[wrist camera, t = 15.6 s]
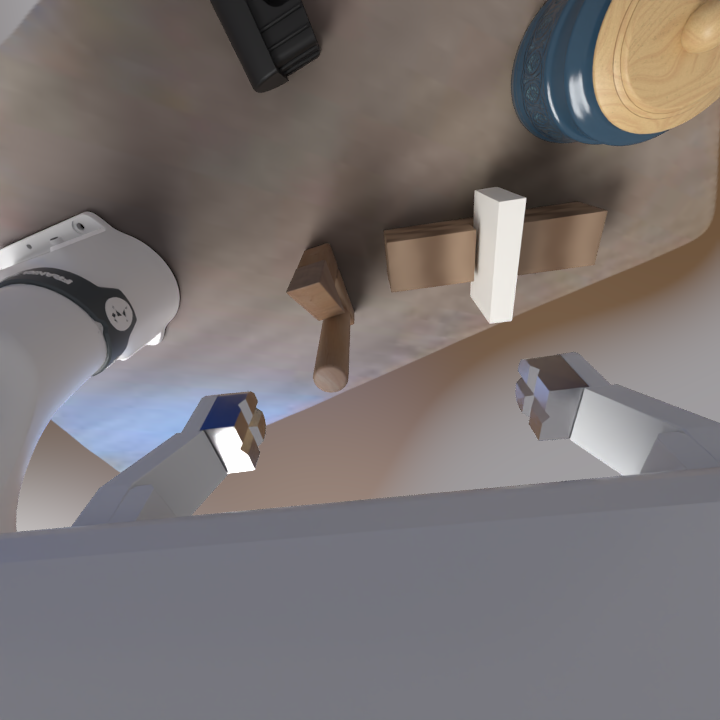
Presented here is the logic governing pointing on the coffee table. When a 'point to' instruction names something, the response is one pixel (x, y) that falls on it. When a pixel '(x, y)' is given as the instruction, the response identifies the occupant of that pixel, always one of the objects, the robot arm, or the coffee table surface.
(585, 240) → the walnut crossbar
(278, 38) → the end cap
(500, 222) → the white rectangular slab
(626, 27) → the canister
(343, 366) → the wooden block
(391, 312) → the coffee table surface
